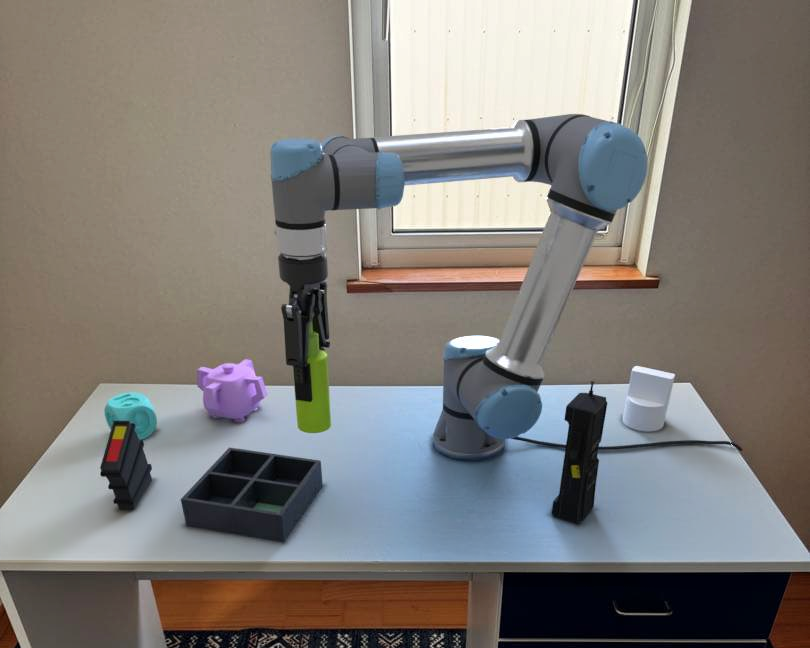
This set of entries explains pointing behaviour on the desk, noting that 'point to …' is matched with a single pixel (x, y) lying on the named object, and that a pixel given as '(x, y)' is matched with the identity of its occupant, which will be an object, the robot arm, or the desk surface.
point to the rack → (253, 494)
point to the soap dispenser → (315, 390)
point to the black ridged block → (126, 465)
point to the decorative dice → (132, 412)
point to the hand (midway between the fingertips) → (311, 391)
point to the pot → (231, 390)
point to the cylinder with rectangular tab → (647, 399)
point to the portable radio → (580, 457)
